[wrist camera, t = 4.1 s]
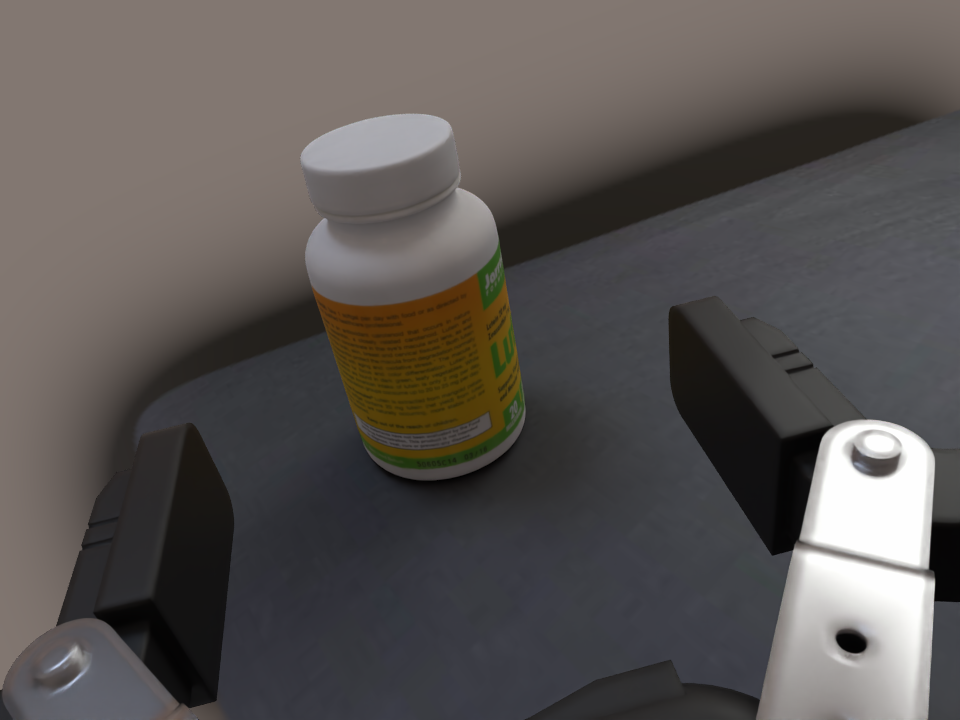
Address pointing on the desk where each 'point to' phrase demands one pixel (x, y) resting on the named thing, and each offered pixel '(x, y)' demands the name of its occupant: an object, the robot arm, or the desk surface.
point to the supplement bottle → (413, 297)
